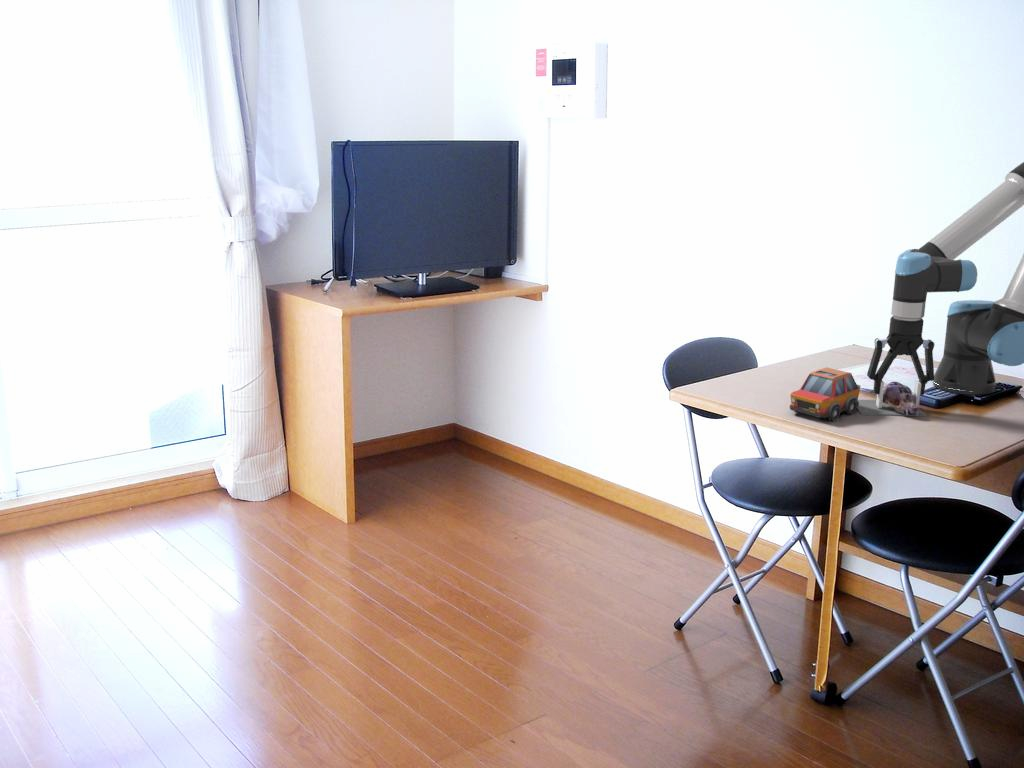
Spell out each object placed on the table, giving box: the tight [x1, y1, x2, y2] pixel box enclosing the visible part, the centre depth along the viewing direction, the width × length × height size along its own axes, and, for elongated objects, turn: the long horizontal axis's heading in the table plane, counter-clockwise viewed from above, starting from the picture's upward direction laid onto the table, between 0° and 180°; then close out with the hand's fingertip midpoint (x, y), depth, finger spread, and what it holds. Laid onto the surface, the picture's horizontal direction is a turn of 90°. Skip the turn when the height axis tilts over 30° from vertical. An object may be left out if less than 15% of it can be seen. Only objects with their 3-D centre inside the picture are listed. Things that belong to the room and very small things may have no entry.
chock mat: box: [856, 399, 926, 417], centre depth 260 cm, size 15×12×1 cm
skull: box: [882, 381, 920, 417], centre depth 256 cm, size 12×8×6 cm, turn 2°
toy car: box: [789, 366, 861, 422], centre depth 256 cm, size 12×17×10 cm
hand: (897, 406), depth 259 cm, fingers open, 8 cm apart
